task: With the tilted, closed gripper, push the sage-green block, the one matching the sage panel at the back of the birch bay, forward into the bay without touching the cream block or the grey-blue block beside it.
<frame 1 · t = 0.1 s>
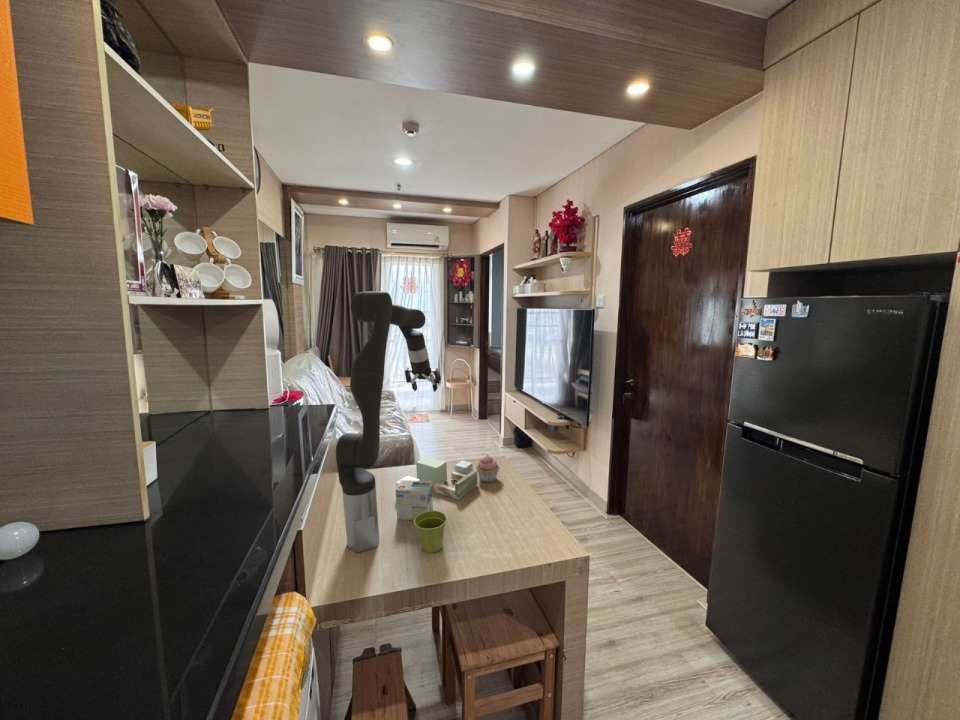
hand: (425, 390, 167), 31 cm above the table, tool tilted 20°, fingers open, 8 cm apart
light bulb box: (415, 515, 131), on the table
birch bay: (450, 487, 149), on the table
plant pot: (431, 547, 115), on the table
cupcake: (487, 479, 155), on the table
cream block: (408, 496, 143), on the table
sage block: (432, 481, 154), on the table
grey-blue block: (464, 475, 158), on the table
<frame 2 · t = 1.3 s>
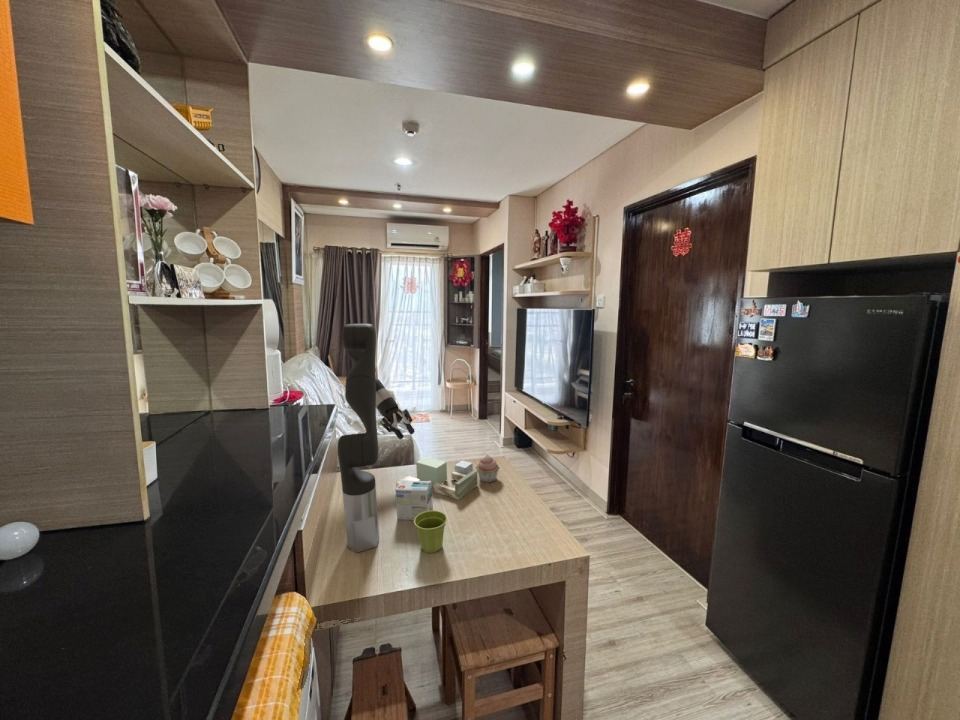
hand: (407, 435, 157), 16 cm above the table, tool tilted 45°, fingers open, 5 cm apart
nothing on the table moved.
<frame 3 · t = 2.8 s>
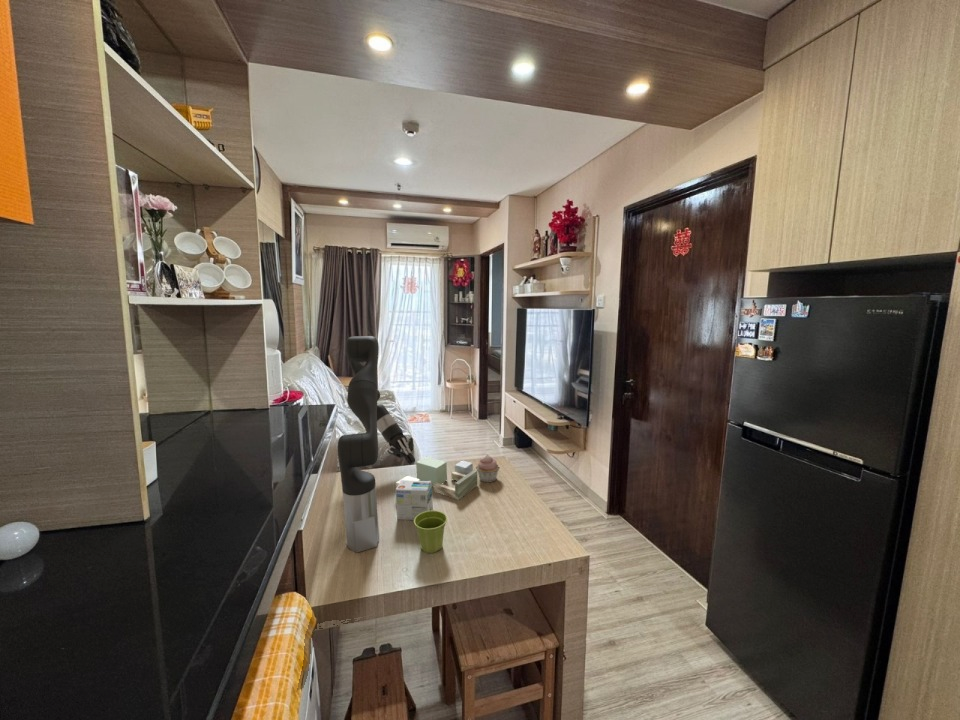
hand: (413, 463, 158), 5 cm above the table, tool tilted 45°, fingers closed
nothing on the table moved.
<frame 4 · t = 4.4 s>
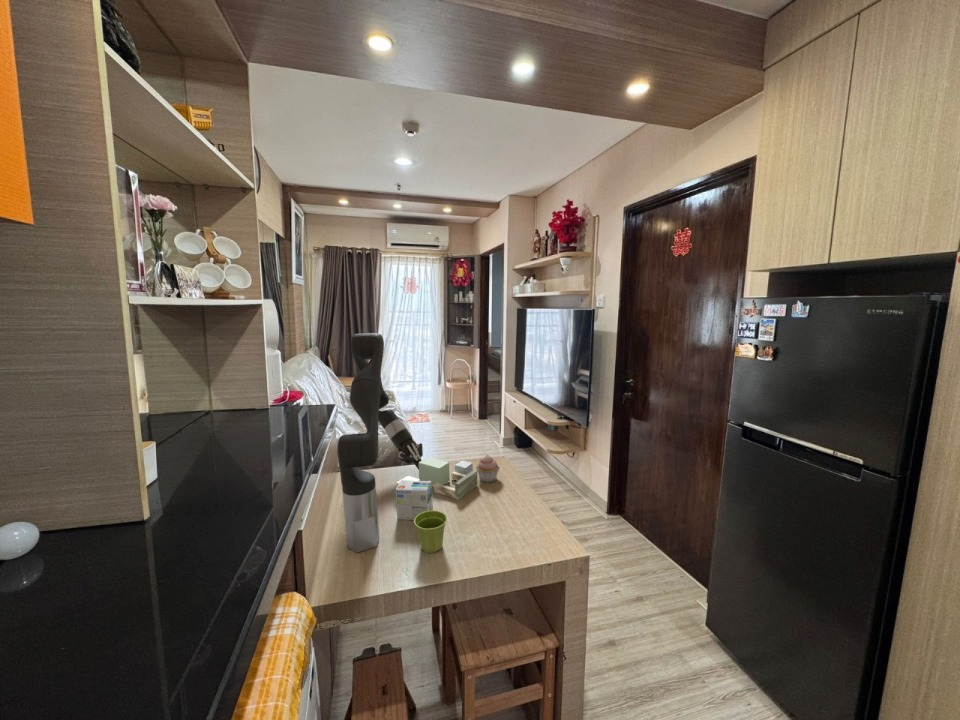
hand: (422, 469, 155), 4 cm above the table, tool tilted 45°, fingers closed
sage block: (434, 481, 153), on the table
everything else where it was.
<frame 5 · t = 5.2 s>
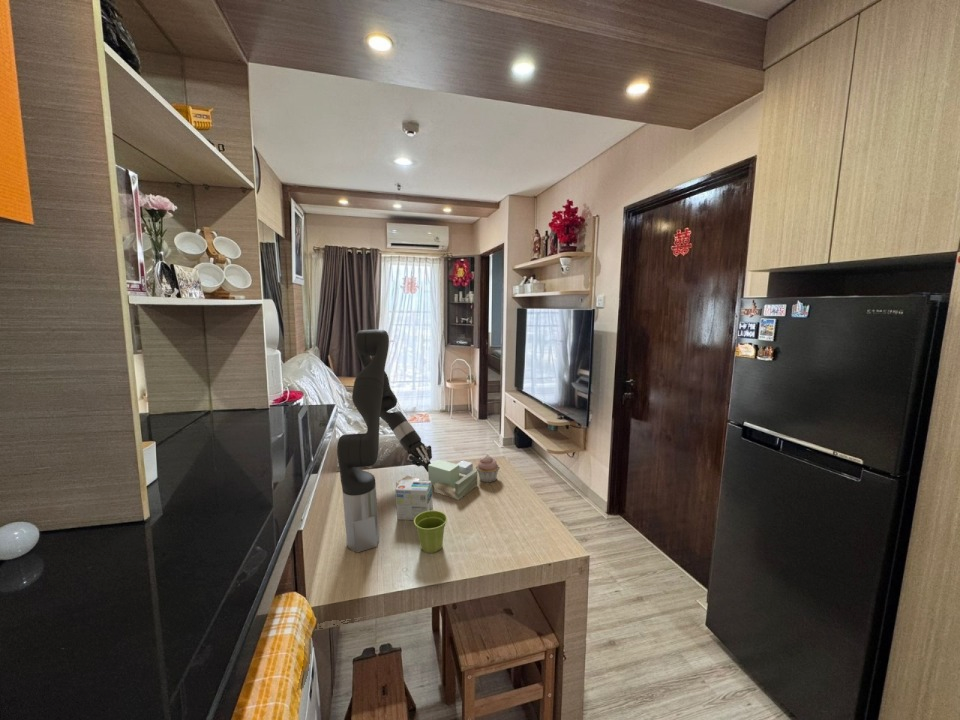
hand: (432, 471, 153), 4 cm above the table, tool tilted 45°, fingers closed
sage block: (444, 484, 151), on the table, touching gripper
everything else where it was.
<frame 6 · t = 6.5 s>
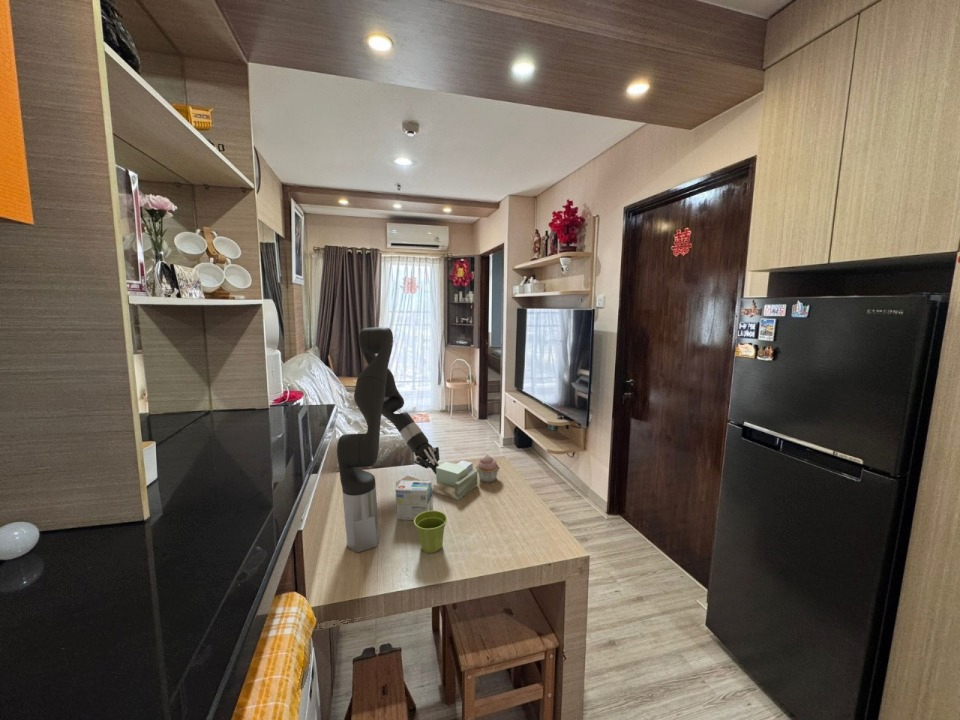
hand: (439, 473, 151), 4 cm above the table, tool tilted 45°, fingers closed
sage block: (452, 487, 149), on the table, touching gripper
everything else where it was.
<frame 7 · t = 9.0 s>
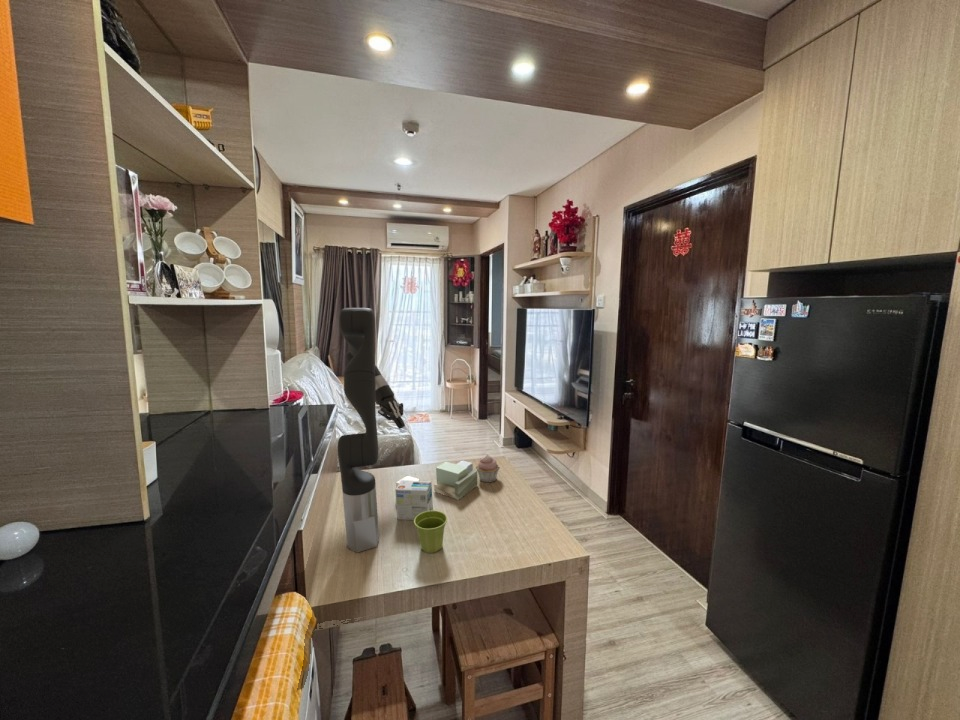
hand: (402, 427, 151), 22 cm above the table, tool tilted 40°, fingers closed
sage block: (452, 487, 149), on the table
everything else where it was.
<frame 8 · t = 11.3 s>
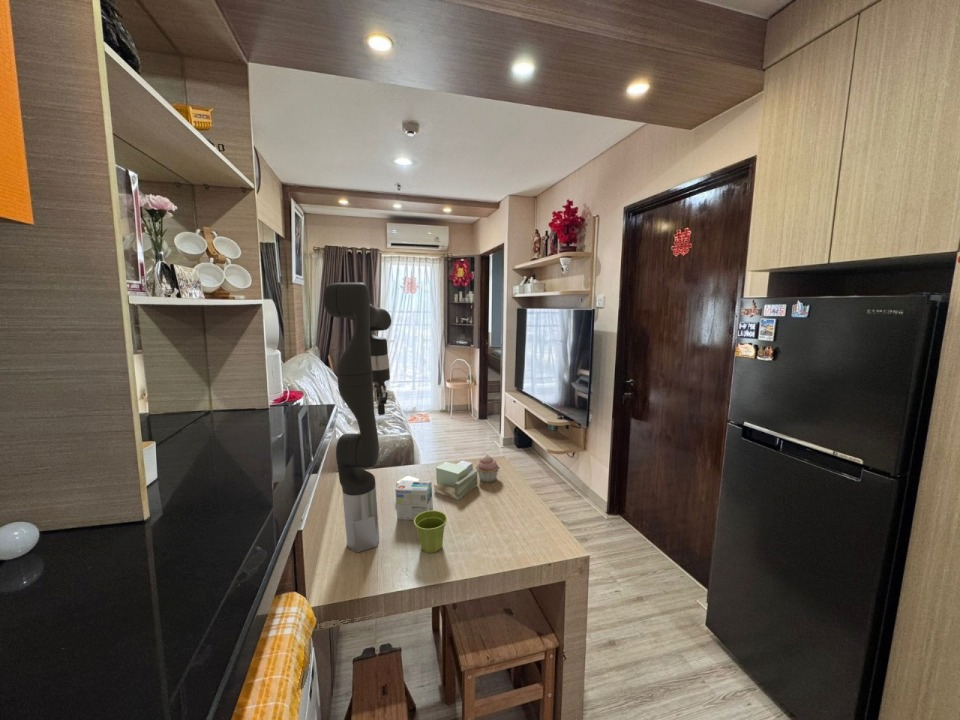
hand: (381, 414, 144), 29 cm above the table, tool pointing down, fingers closed
nothing on the table moved.
at the end: sage block 0.6 cm off-centre on the birch bay, point 0.0 cm above the birch bay's base; sage block tilted 0°; grey-blue block moved 0.1 cm from its start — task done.
